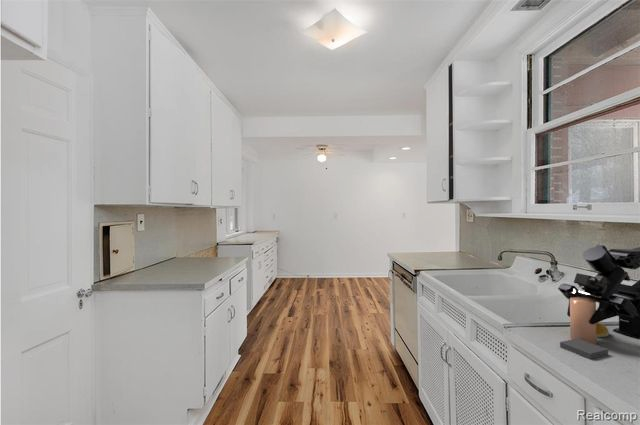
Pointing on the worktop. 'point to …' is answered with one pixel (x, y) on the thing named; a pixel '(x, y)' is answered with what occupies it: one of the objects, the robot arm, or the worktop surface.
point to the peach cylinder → (582, 319)
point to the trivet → (584, 348)
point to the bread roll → (601, 330)
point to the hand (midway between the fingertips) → (579, 319)
